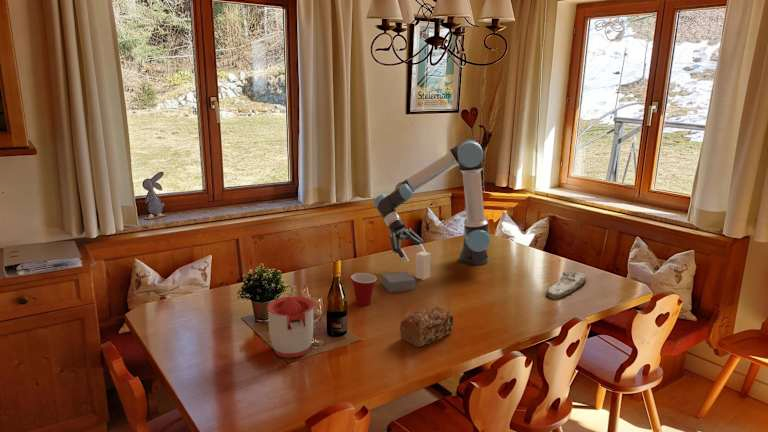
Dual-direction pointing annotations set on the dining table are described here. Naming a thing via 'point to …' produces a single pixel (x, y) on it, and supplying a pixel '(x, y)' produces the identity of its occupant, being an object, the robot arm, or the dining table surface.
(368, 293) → the plastic cup
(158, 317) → the dining table surface
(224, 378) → the dining table surface
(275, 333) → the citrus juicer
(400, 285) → the blue-grey flat block
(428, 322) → the bread
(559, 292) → the stone
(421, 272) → the cream pillar block
